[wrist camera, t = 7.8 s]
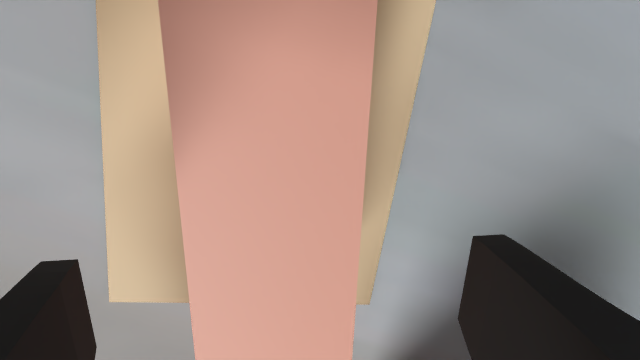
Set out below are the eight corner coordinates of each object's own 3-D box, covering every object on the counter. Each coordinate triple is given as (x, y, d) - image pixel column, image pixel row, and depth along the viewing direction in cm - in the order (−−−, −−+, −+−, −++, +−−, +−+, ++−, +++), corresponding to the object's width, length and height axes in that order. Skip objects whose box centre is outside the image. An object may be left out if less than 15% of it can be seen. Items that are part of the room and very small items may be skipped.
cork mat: (452, -87, 15) (454, -86, 15) (368, 300, 21) (369, 304, 21) (91, -139, 14) (89, -139, 13) (110, 298, 19) (109, 301, 19)
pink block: (337, -68, 15) (382, -40, 10) (324, 275, 20) (351, 389, 16) (173, -70, 14) (150, -42, 10) (204, 283, 20) (198, 404, 15)
